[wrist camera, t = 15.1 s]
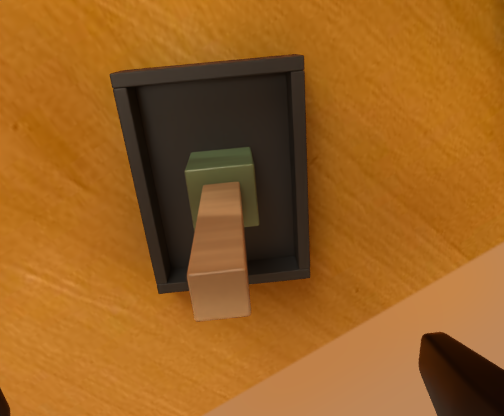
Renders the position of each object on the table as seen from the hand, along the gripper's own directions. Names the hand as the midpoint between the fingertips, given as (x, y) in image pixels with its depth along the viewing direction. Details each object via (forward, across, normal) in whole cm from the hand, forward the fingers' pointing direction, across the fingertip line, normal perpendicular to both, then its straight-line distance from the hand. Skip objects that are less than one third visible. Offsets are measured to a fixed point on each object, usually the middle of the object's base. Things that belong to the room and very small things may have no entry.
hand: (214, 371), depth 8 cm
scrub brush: (+12, 0, 0) cm, 13 cm away
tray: (+13, 0, 0) cm, 13 cm away
